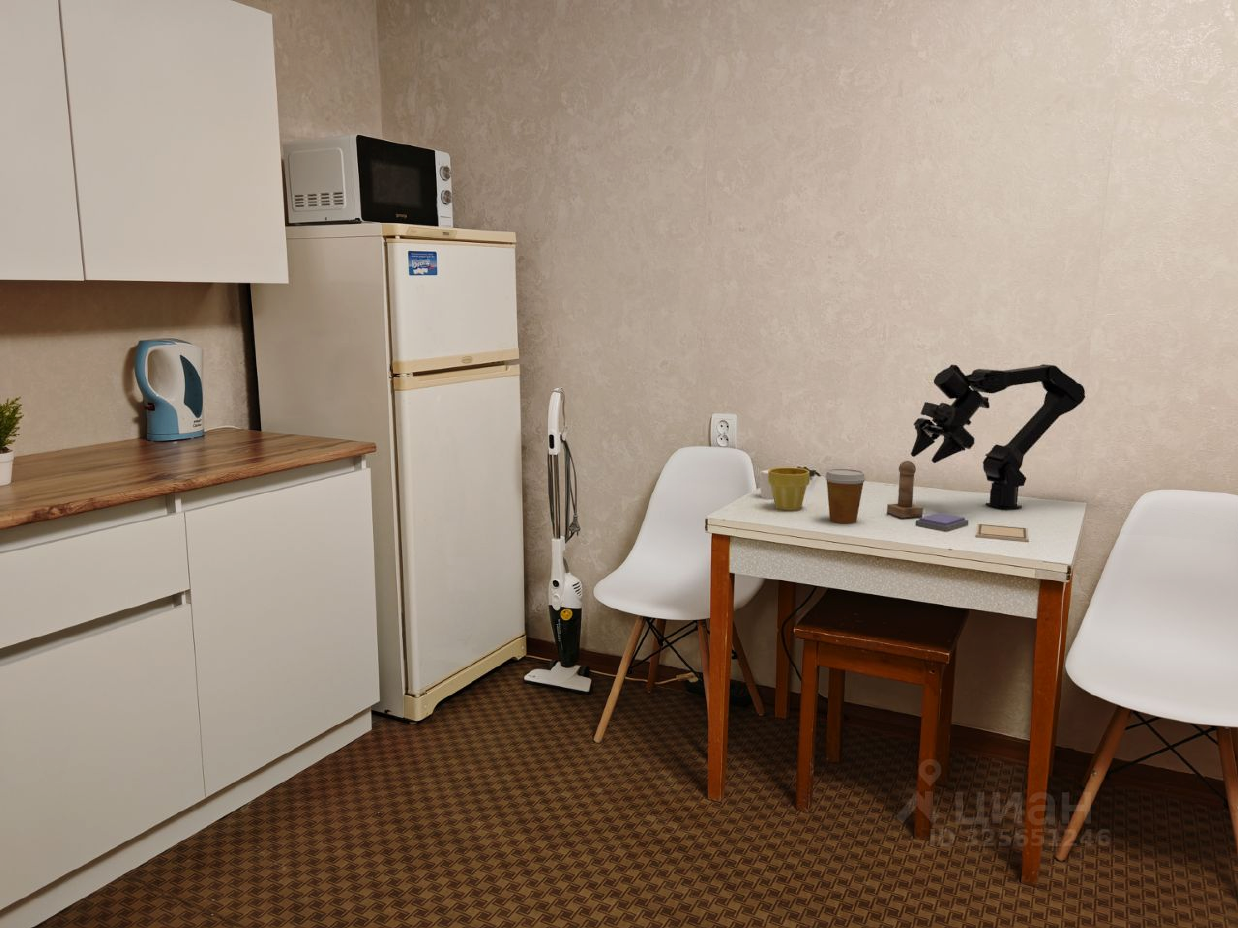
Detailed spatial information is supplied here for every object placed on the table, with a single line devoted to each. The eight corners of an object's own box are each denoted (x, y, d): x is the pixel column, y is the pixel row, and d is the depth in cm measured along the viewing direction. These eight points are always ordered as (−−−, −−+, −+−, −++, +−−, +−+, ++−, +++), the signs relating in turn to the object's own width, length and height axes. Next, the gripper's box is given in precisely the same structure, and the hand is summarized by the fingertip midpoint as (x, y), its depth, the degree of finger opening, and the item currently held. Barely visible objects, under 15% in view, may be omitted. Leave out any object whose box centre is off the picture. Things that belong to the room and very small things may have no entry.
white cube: (768, 500, 249) (769, 474, 247) (753, 495, 255) (754, 470, 253) (789, 498, 252) (790, 472, 251) (773, 493, 258) (774, 468, 257)
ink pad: (937, 519, 229) (937, 511, 228) (968, 524, 223) (968, 517, 223) (915, 525, 222) (915, 517, 222) (946, 531, 216) (946, 524, 216)
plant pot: (763, 510, 237) (764, 472, 235) (771, 502, 246) (772, 465, 245) (804, 513, 233) (806, 475, 232) (811, 505, 243) (812, 468, 241)
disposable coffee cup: (870, 523, 223) (873, 474, 221) (835, 526, 221) (837, 476, 219) (850, 515, 232) (852, 467, 230) (815, 517, 230) (817, 469, 228)
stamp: (906, 512, 235) (910, 458, 233) (922, 517, 230) (925, 462, 228) (886, 514, 233) (889, 459, 231) (901, 519, 228) (905, 463, 225)
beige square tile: (977, 526, 222) (977, 523, 222) (1027, 530, 218) (1027, 527, 218) (975, 536, 212) (975, 533, 212) (1028, 541, 208) (1028, 538, 207)
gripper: (920, 386, 241) (882, 433, 240) (964, 394, 223) (923, 444, 223) (947, 414, 244) (909, 460, 244) (992, 423, 226) (952, 473, 226)
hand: (922, 458), depth 234 cm, fingers open, 9 cm apart
